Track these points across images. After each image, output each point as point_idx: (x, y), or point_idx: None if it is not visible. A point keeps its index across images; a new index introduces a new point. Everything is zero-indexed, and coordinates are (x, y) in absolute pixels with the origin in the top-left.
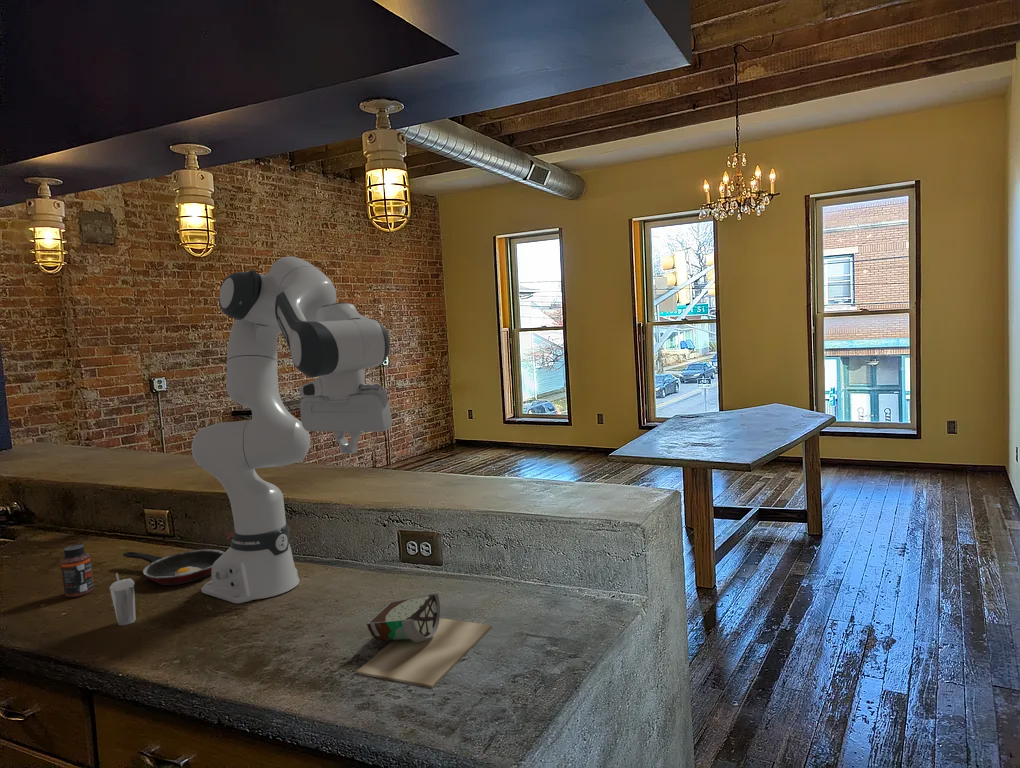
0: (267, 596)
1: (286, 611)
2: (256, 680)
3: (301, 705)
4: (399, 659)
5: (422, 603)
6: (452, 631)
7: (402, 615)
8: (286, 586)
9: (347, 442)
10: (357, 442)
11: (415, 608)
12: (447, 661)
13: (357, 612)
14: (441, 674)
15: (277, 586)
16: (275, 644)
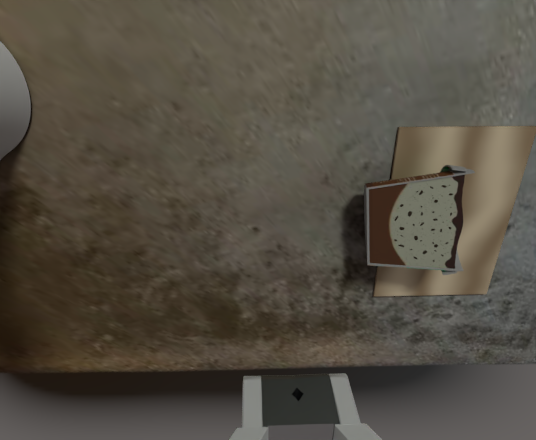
0: (18, 141)
1: (116, 176)
2: (255, 338)
3: (346, 355)
4: None
5: (453, 209)
6: (472, 166)
7: (430, 249)
8: (21, 101)
9: (266, 433)
10: (371, 432)
11: (446, 227)
12: (490, 245)
13: (257, 141)
14: (490, 272)
15: (15, 123)
16: (203, 270)
